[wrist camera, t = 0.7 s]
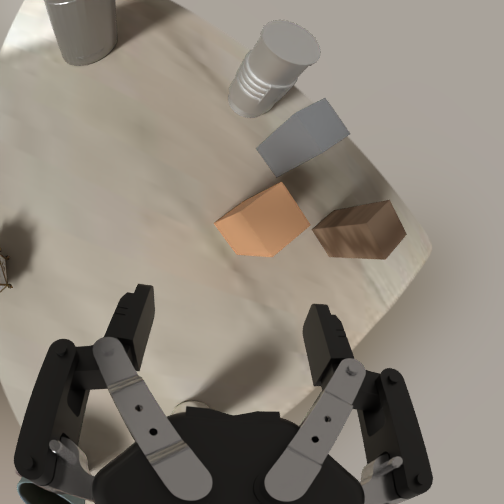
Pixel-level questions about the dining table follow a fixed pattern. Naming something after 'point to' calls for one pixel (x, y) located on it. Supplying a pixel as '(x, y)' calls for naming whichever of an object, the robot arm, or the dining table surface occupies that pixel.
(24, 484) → the grey-green cup
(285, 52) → the grey ribbed canister
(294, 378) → the dining table surface
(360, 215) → the walnut block
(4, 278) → the game die
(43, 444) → the robot arm
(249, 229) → the orange block
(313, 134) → the grey block
